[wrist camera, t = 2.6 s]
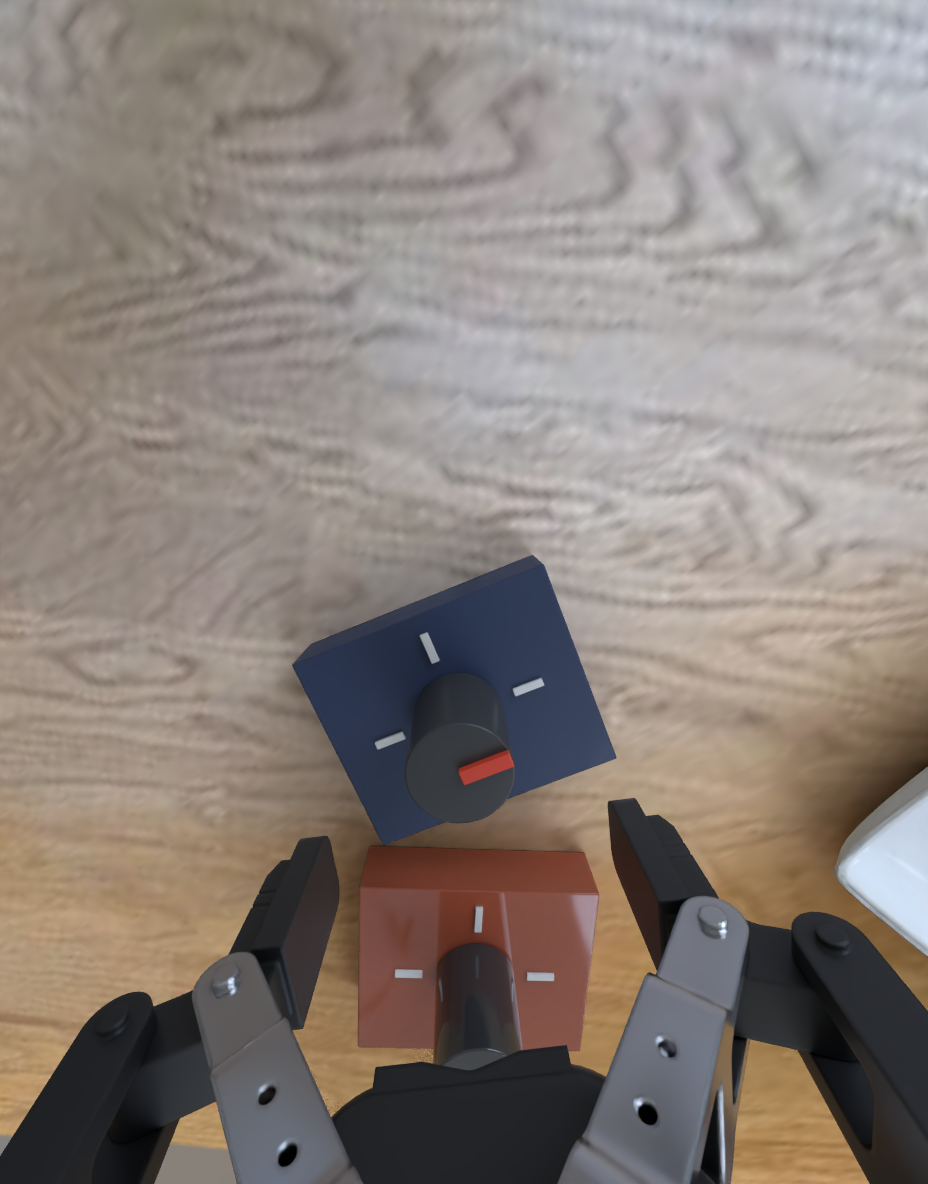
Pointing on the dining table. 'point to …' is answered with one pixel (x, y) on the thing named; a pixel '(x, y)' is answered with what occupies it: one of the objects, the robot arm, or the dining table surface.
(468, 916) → the dial base block
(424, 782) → the black rotary knob
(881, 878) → the square plate
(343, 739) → the navy flat block
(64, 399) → the dining table surface
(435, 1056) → the dark grey dial knob
